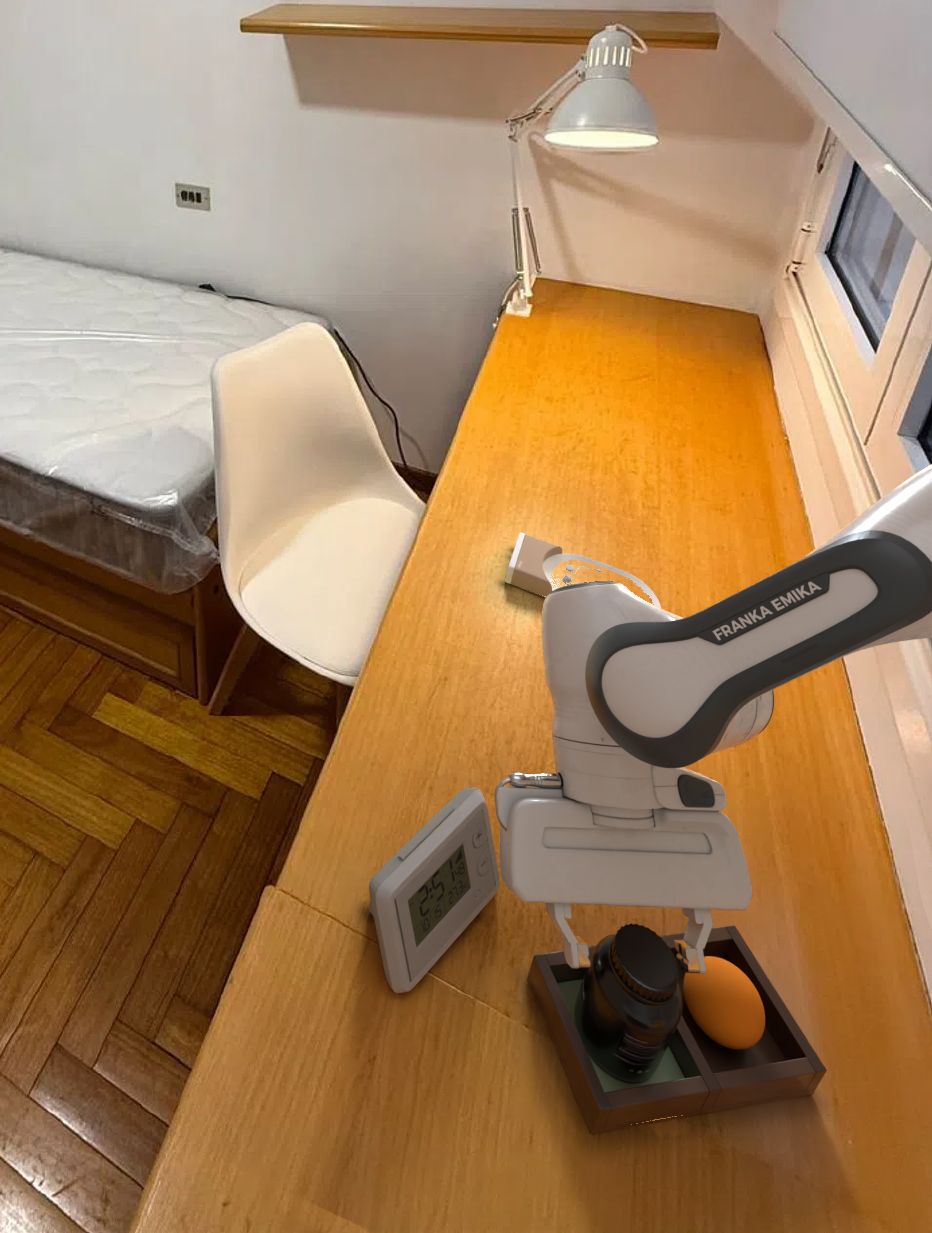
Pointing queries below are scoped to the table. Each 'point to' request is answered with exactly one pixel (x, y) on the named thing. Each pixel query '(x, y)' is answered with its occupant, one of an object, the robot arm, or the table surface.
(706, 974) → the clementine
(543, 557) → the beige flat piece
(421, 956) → the digital clock
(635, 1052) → the supplement bottle
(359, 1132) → the table surface
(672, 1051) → the tray
